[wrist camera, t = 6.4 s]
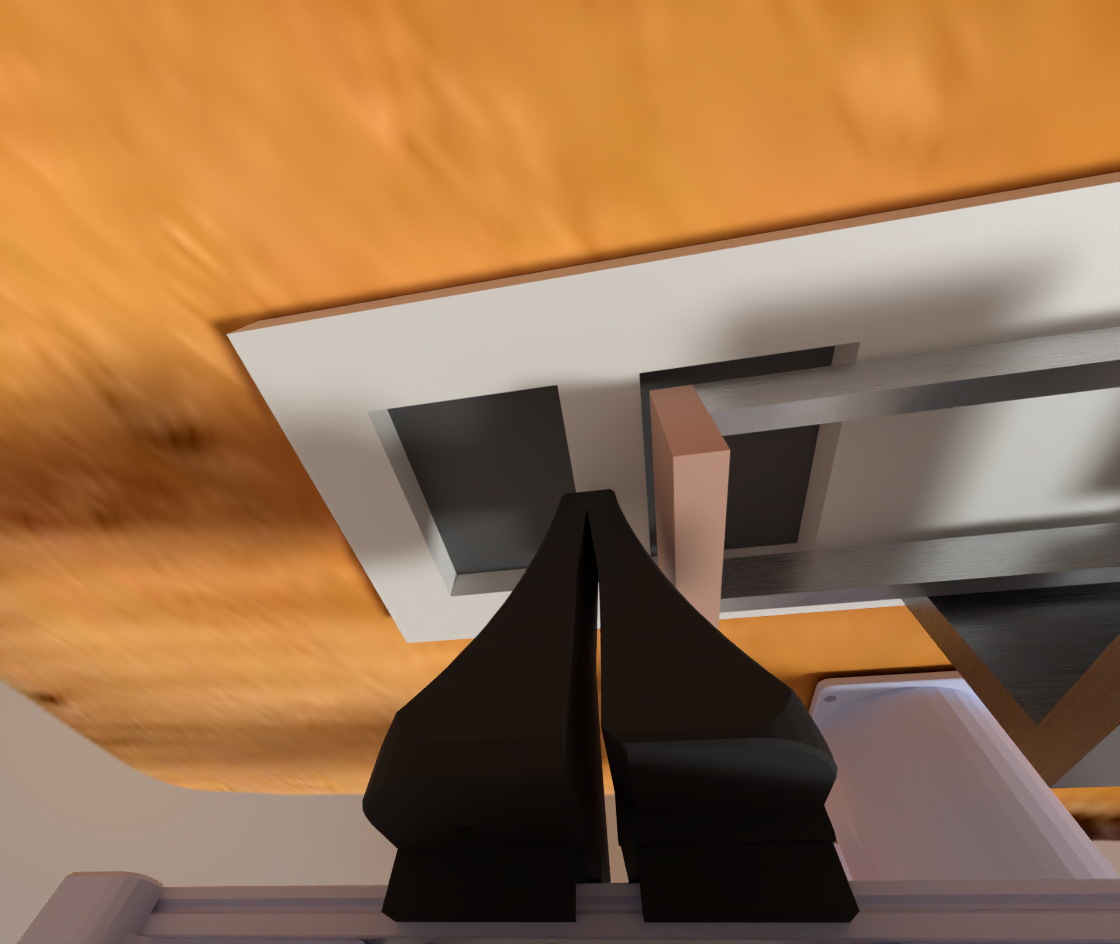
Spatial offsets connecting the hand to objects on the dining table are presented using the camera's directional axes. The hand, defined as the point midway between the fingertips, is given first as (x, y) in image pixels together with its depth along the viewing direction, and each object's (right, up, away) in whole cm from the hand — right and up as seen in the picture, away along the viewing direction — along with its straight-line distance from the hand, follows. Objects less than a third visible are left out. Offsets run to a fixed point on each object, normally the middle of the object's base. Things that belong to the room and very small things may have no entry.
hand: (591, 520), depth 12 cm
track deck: (+7, +2, +1) cm, 8 cm away
